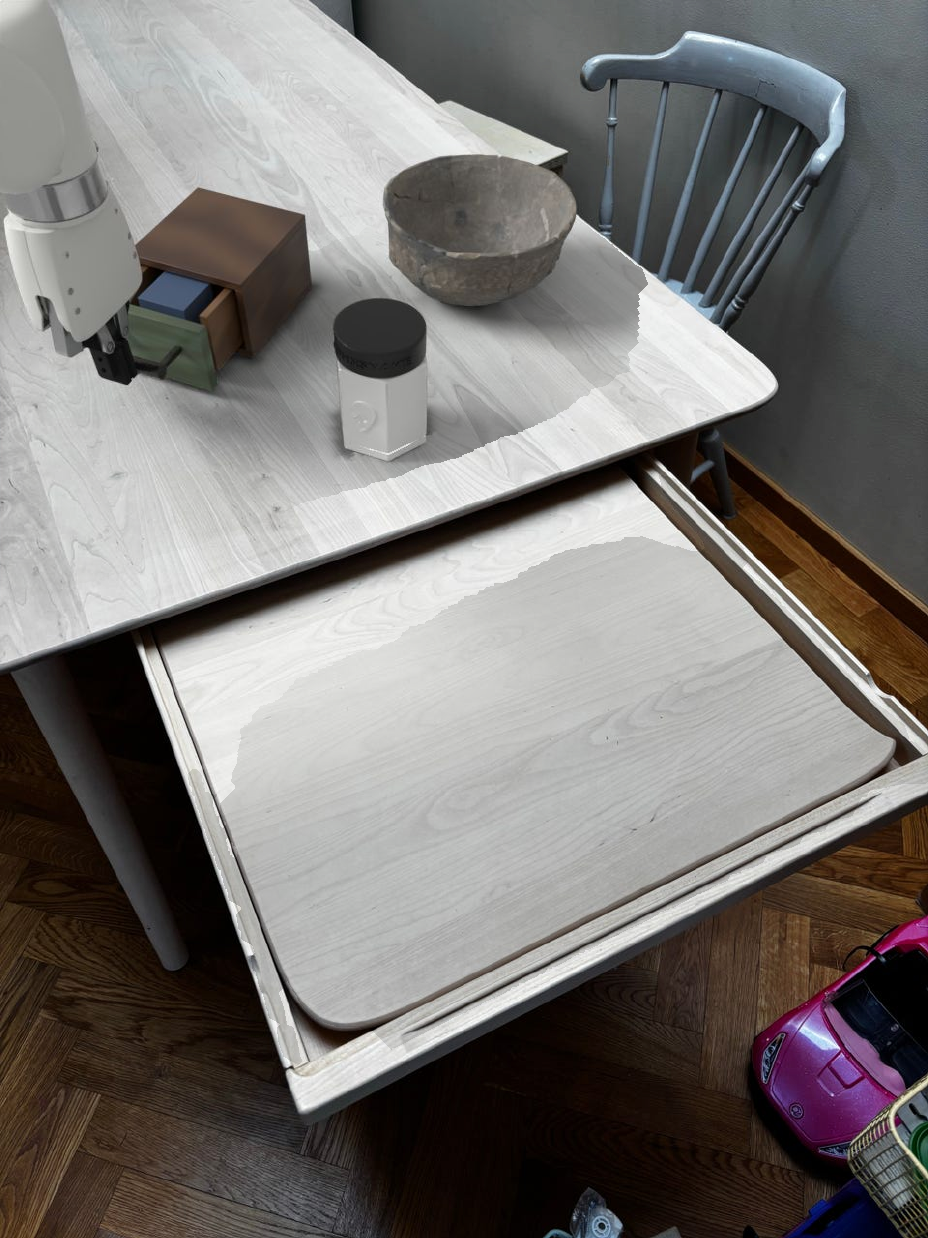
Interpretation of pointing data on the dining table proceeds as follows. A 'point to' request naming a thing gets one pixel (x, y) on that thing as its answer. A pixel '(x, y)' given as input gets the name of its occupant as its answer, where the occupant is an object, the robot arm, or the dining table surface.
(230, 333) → the drawer
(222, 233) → the cabinet
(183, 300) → the block
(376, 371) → the jar
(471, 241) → the bowl
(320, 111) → the dining table surface
